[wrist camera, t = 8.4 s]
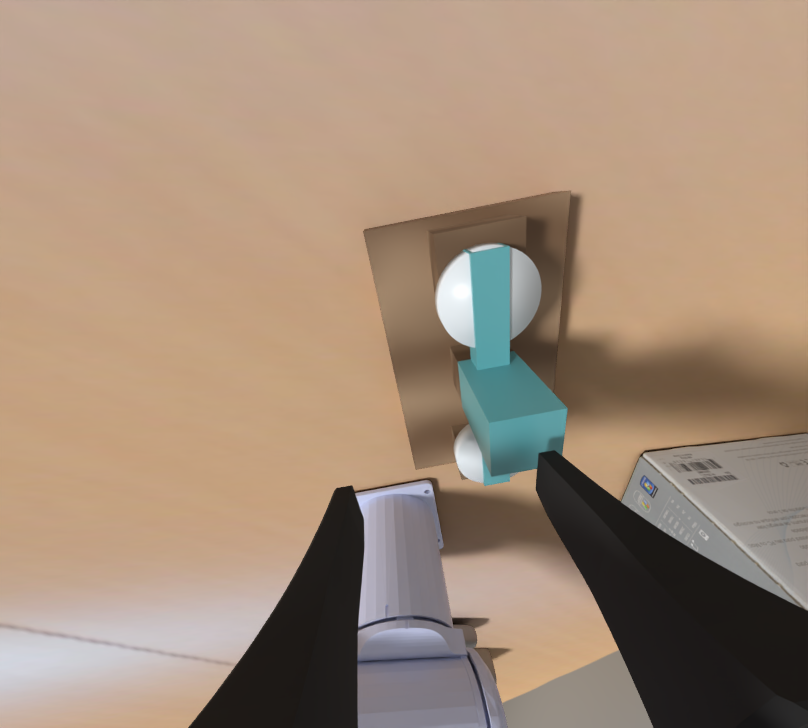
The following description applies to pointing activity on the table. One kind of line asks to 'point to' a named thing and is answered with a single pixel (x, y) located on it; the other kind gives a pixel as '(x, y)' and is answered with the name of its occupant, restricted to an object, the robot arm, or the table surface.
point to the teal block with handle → (497, 363)
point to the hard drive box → (734, 507)
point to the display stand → (421, 326)
